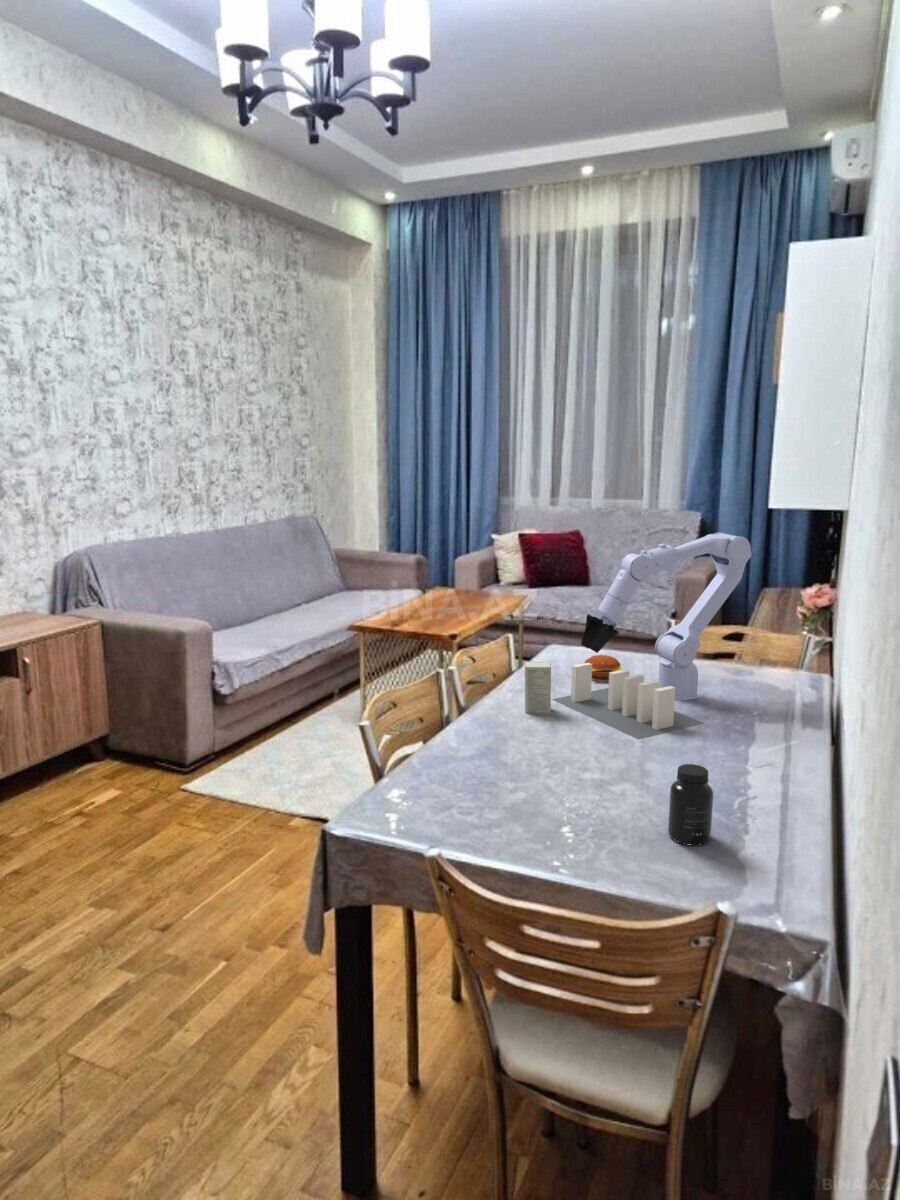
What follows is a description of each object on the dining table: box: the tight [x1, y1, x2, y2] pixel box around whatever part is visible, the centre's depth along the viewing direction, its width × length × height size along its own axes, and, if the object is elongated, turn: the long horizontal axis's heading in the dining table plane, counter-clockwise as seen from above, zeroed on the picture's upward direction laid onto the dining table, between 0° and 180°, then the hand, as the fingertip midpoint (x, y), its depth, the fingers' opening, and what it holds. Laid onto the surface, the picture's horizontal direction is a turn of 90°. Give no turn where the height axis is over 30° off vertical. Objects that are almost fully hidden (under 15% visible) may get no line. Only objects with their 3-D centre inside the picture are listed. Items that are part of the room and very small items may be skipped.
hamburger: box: [583, 654, 623, 683], centre depth 220 cm, size 9×10×7 cm
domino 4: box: [637, 679, 659, 723], centre depth 187 cm, size 2×5×9 cm, turn 120°
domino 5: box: [652, 686, 676, 730], centre depth 183 cm, size 2×5×9 cm, turn 120°
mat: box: [551, 687, 704, 740], centre depth 195 cm, size 20×31×1 cm, turn 30°
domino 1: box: [570, 662, 593, 702], centre depth 201 cm, size 2×5×9 cm, turn 120°
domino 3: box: [622, 674, 645, 716], centre depth 192 cm, size 2×5×9 cm, turn 120°
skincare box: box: [524, 661, 552, 715], centre depth 194 cm, size 6×4×12 cm
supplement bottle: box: [667, 763, 714, 846], centre depth 134 cm, size 7×7×12 cm
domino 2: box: [608, 669, 630, 710], centre depth 196 cm, size 2×5×9 cm, turn 120°
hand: (589, 648), depth 197 cm, fingers open, 7 cm apart
